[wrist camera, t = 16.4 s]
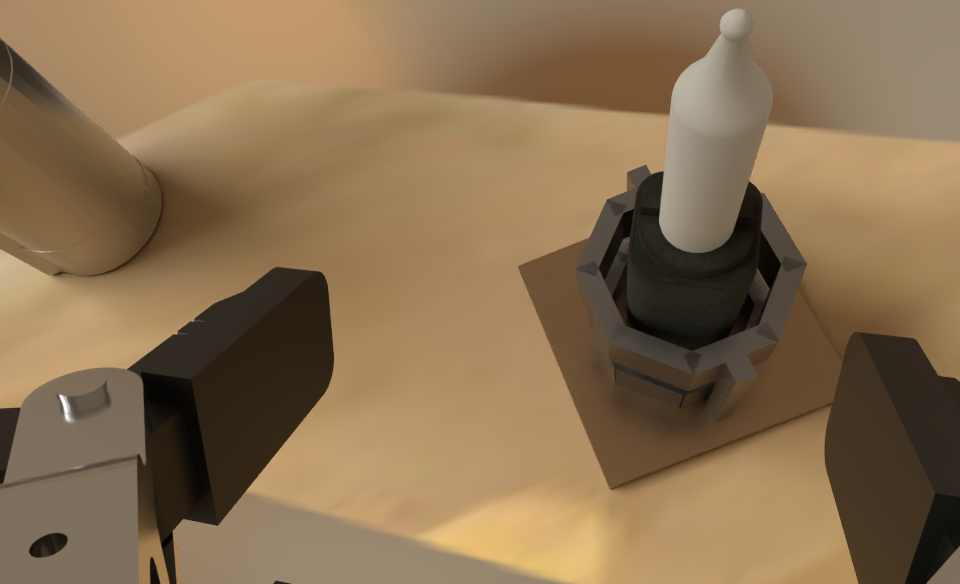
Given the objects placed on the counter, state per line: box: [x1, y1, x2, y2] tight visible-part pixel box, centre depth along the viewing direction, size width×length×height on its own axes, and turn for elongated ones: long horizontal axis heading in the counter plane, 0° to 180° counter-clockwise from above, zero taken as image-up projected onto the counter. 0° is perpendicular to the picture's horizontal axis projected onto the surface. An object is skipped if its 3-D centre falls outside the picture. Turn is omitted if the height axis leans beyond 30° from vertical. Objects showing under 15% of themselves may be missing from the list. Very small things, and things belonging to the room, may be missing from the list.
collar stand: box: [518, 165, 842, 489], centre depth 38 cm, size 14×14×9 cm
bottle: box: [626, 9, 773, 351], centre depth 30 cm, size 5×5×25 cm
